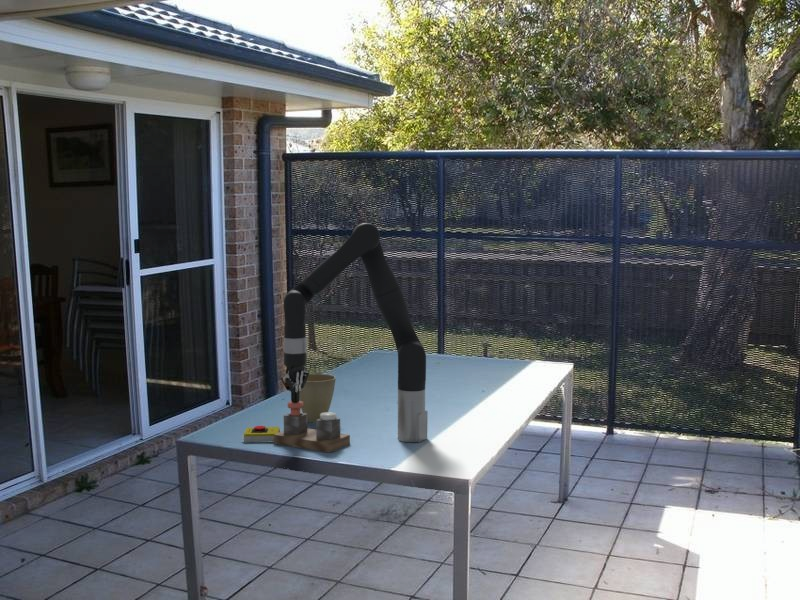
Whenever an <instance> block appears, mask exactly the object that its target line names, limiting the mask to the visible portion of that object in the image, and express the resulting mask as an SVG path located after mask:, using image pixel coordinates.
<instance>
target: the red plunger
mask: <svg viewBox="0 0 800 600" xmlns="http://www.w3.org/2000/svg"><path fill="white" fill-rule="evenodd" d="M287 408H288V409H290V413H291V416H300V413H301V408H303V402H302V401H299V402H298V403H292V402H291V400H290V401H288V402H287Z"/></svg>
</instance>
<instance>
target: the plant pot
mask: <svg viewBox="0 0 800 600" xmlns="http://www.w3.org/2000/svg"><path fill="white" fill-rule="evenodd" d="M336 379H337V378H336V376H335V375H332V374H326V373H309V375H308V378H307V380H306V383H305V385H304V388H301V390H300V399H299V401H302V402H303V408H300V410H301V413H306V414H307V422H309V423H310V422H311V423H316V420H318V419H320V414H321V413H325V412H330V411H329V410H330V408H331V404H332V401H333V396H334V392H335V385H336Z"/></svg>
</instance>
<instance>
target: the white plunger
mask: <svg viewBox="0 0 800 600" xmlns="http://www.w3.org/2000/svg"><path fill="white" fill-rule="evenodd" d="M336 418H337V413H335V412H331V411H328V412H325V413H321V414H320V419H321V420H324V421H332V420H335V419H336Z"/></svg>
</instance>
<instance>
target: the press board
mask: <svg viewBox="0 0 800 600" xmlns="http://www.w3.org/2000/svg"><path fill="white" fill-rule="evenodd" d="M315 423H316V425H315V427H316V429H315V428H314V429H313V428H308V421H307V414H306V413H303V412H300V416H291V412H289V413H286V414H284V415H283V430H282V431H280V432H279V433H277V434H274V442H273V444H274V443H276V445H280V444H281V445H280V446H286V445H287V447H293V448H297V449H306V450H310V451H316V452H317V451H318V452H321V453H322V452H323V453H330V452H331V453H333V452H335V451H337V450H339V449H341V447H342V448H344V447H346V446H348V445H350V443H351V435H350V434H347V433H346V434H345V433H341V418H339V417H336V419H335V420H332V421H324V420H321V419H318V420H316V422H315ZM343 446H344V447H343ZM332 451H333V452H332Z"/></svg>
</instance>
